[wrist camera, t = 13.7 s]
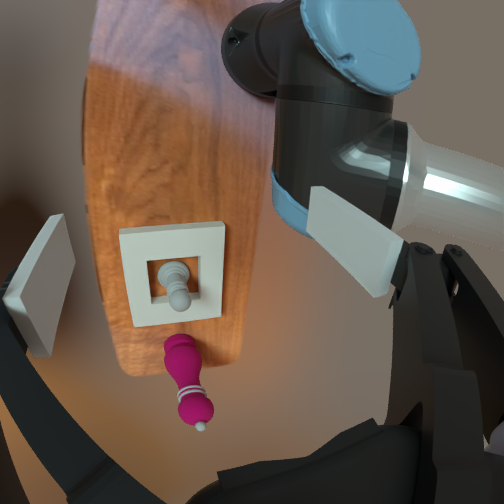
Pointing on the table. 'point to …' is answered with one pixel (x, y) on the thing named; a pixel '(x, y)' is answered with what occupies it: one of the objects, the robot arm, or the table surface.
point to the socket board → (166, 247)
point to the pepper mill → (188, 380)
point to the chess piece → (176, 284)
